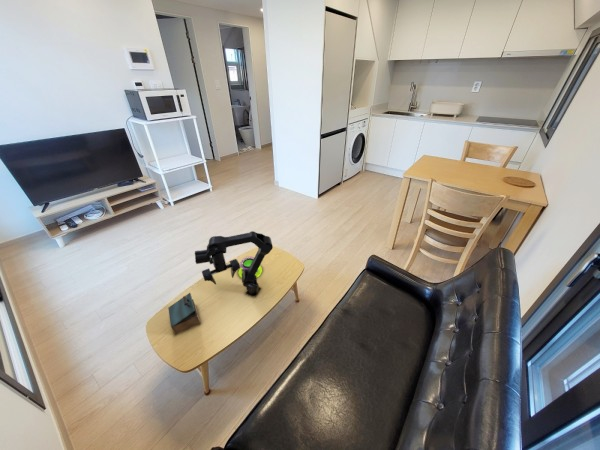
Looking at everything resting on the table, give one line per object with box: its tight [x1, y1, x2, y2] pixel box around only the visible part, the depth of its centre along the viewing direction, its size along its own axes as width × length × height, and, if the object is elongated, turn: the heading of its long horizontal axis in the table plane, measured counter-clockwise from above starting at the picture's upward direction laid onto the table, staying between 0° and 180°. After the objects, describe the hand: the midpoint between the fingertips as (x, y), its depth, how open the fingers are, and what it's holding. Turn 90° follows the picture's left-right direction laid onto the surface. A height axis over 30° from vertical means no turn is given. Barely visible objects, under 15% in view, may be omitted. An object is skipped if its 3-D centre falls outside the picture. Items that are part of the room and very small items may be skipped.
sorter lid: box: [167, 292, 195, 328], centre depth 118 cm, size 13×12×4 cm
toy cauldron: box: [238, 255, 263, 279], centre depth 151 cm, size 15×15×11 cm
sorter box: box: [171, 298, 201, 335], centre depth 123 cm, size 12×12×6 cm
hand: (224, 280), depth 130 cm, fingers open, 9 cm apart
